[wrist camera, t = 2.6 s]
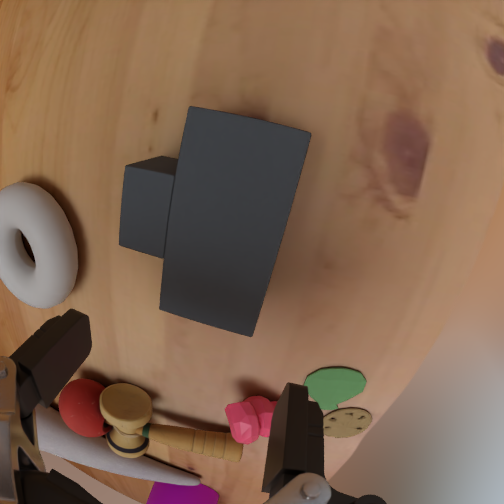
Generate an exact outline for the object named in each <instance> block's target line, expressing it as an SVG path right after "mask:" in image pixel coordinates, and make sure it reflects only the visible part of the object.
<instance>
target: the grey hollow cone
mask: <svg viewBox="0 0 504 504" xmlns="http://www.w3.org/2000/svg"><path fill="white" fill-rule="evenodd" d="M35 411H36V424H37V435H38V444H39V449H40V450H43V451H46V452H49V453H51V454H54V455H56V456H59V457H62V458H65V459H68V460H71V461H74V462H77V463H80V464H83V465H86V466H90V467H93V468H97V469H101V470H104V471H108V472H112V473H116V474H121V475H125V476H130V477H134V478H139V479H145V480H150V481H156V482H163V483H170V484H176V485H186V486H195V485H199V484H200V478H199V477H197V476H195V475H193V474H190V473H187V472H184V471H182V470H179V469H176V468H173V467H171V466H168V465H165V464H163V463H160V462H157V461H155V460H152V459H150V458H147V457H145V456H143V455H141V456H139V457H136V458H126V457H122V456H120V455H118V454H116V453H115V452H114V451H113V450H112V449H111V448H110V447H109V445H108V442H107V439H106V438H104V437H102V436H99V437H85V436H82V435H79V434H77V433H75V432H74V431H73V430H71V429H70V428H69V427H68V426H67V425H66V423H65V422H64V421H63V419H62V417H61V414H60V413H59V412H58V411H56V410H55V409H53V408H52V407H50V406H49V407H48V408H47V409H46V408H45V407H43V406H41V405H40V404H37V406H36V407H35Z"/></svg>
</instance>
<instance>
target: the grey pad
mask: <svg viewBox="0 0 504 504" xmlns="http://www.w3.org/2000/svg"><path fill="white" fill-rule="evenodd" d="M310 138H311V133H310V132H307V131H303V130H300V129H296V128H292V127H288V126H285V125H281V124H277V123H273V122H268V121H264V120H260V119H256V118H251V117H247V116H242V115H237V114H232V113H227V112H222V111H217V110H211V109H205V108H199V107H193V106H190V107H189V109H188V113H187V118H186V123H185V127H184V132H183V137H182V142H181V148H180V153H179V158H178V159H175V158H170V157H165V156H159V157H155V158H151V159H148V160H144V161H140V162H136V163H133V164H129V165H126V166H125V173H124V182H123V192H122V203H121V215H120V231H119V245H120V246H123V247H126V248H130V249H133V250H136V251H139V252H142V253H146V254H149V255H152V256H156V257H159V258H164V263H163V272H162V283H161V294H160V306H159V309H160V310H163V311H166V312H169V313H172V314H175V315H178V316H181V317H184V318H187V319H190V320H194V321H197V322H200V323H203V324H207V325H210V326H213V327H217V328H220V329H224V330H227V331H231V332H234V333H238V334H241V335H245V336H249V337H252V336H253V333H254V330H255V326H256V323H257V320H258V317H259V314H260V310H261V307H262V304H263V301H264V297H265V294H266V291H267V288H268V284H269V281H270V278H271V274H272V271H273V268H274V264H275V261H276V258H277V254H278V251H279V248H280V244H281V241H282V238H283V234H284V231H285V227H286V224H287V220H288V217H289V213H290V210H291V207H292V203H293V200H294V196H295V192H296V189H297V185H298V182H299V178H300V175H301V171H302V167H303V164H304V160H305V157H306V153H307V149H308V146H309V142H310Z"/></svg>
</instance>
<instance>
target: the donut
mask: <svg viewBox="0 0 504 504" xmlns="http://www.w3.org/2000/svg"><path fill="white" fill-rule="evenodd" d="M21 231H22V233H23V234H24V235H25V237H26V238H27V240H28V242H29V244H30V246H31V248H32V251H33V254H34V257H35V263H34V262H33V261H32V259H31V258H30V257H29V255H28V254H27V252H26V250H25V248H24V245H23V241H22V236H21ZM77 271H78V253H77V246H76V242H75V239H74V235H73V231H72V228H71V226H70V224H69V222H68V220H67V218H66V215H65V213H64V211H63V210H62V208H61V207H60V206H59V204H58V203H57V202H56V201H55V199H54V198H53V197H52V195H50V194H49V193H48V192H46V191H45V190H44V189H42V188H41V187H40V186H38V185H35V184H31V183H26V182H17V183H14V184H12V185H9V186H7V187H5V188H3V189H2V190H1V191H0V278H1V280H2V281H3V282H4V284H5V285H6V286H7V288H8V289H9V290H10V291H11V292H12V293H13V294H14V295H15V296H16V297H17V298H18V299H19V300H21V301H23V302H24V303H26V304H28V305H30V306H32V307H37V308H51V307H53V306H55V305H58V304H60V303H62V302H63V301H64V300H65V299H66V297H67V296H68V295H69V293H70V292H71V290H72V289H73V288H74V284H75V280H76V276H77Z"/></svg>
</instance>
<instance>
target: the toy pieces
mask: <svg viewBox="0 0 504 504" xmlns="http://www.w3.org/2000/svg"><path fill="white" fill-rule="evenodd" d="M365 384H366V380H365V378H364V377H363V375H362V374H361V372H358V371H355V370H352V369H347V368H325V369H319V370H318V371H316V372H314V373H312V374H310V375H308V376H307V379H306V381H305V383H304V385H303V386H307V387H308V394H309V395H310V396H311V397H312V398H313V399H314V400H315V401H316V402H318V404H319V406H320V408H321V409H323V410H334V409H338V406H337V405H336V404H339V403H341V402H344V401H346V400H348V399H350V398H352V397H354V396H356V395H357V394H359V393H361V392H363V389H364V387H365ZM276 404H277V401H272V402H270V401H269V400H268V399H267V398H264V397H262V396H251V397H248V398H247V399H245V400H244V401H243V402H238V403H233V404H228V405H227V407H226V408H225V412H226V415H227V418H228V421H229V425H230V429H231V434H232V437H233V438H234V439H235V440H236V442H238V443H243V444H247V445H248V444H250V443H252V442H254V441H255V440H257V439H258V437H259V435H261V436H264V437H269V435H270V428H271V420H272V415H273V412H274V409H275V406H276ZM349 413H352V414H349ZM363 415H364V417H362V418H360V417H361V416H363ZM332 417H334V418H335V419H331V418H332ZM323 422H324V426H323V428H324V434H325V435H326V436H330V437H335V438H341V437H345V438H347V437H351V436H355V435H357V434H359V433H361V432H363V431H364V430H366V429H367V428H368V426H369V424H370V423H371V422H372V417H371V415H370V414H369V413H368V412H367V411H365V410H361V409H358V408H347V409H341V410H337V411H334V412H332V413H330V414H328V415H327V416H325V417H324V418H323ZM325 427H329V428H325ZM357 427H361V428H360V429H357Z"/></svg>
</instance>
